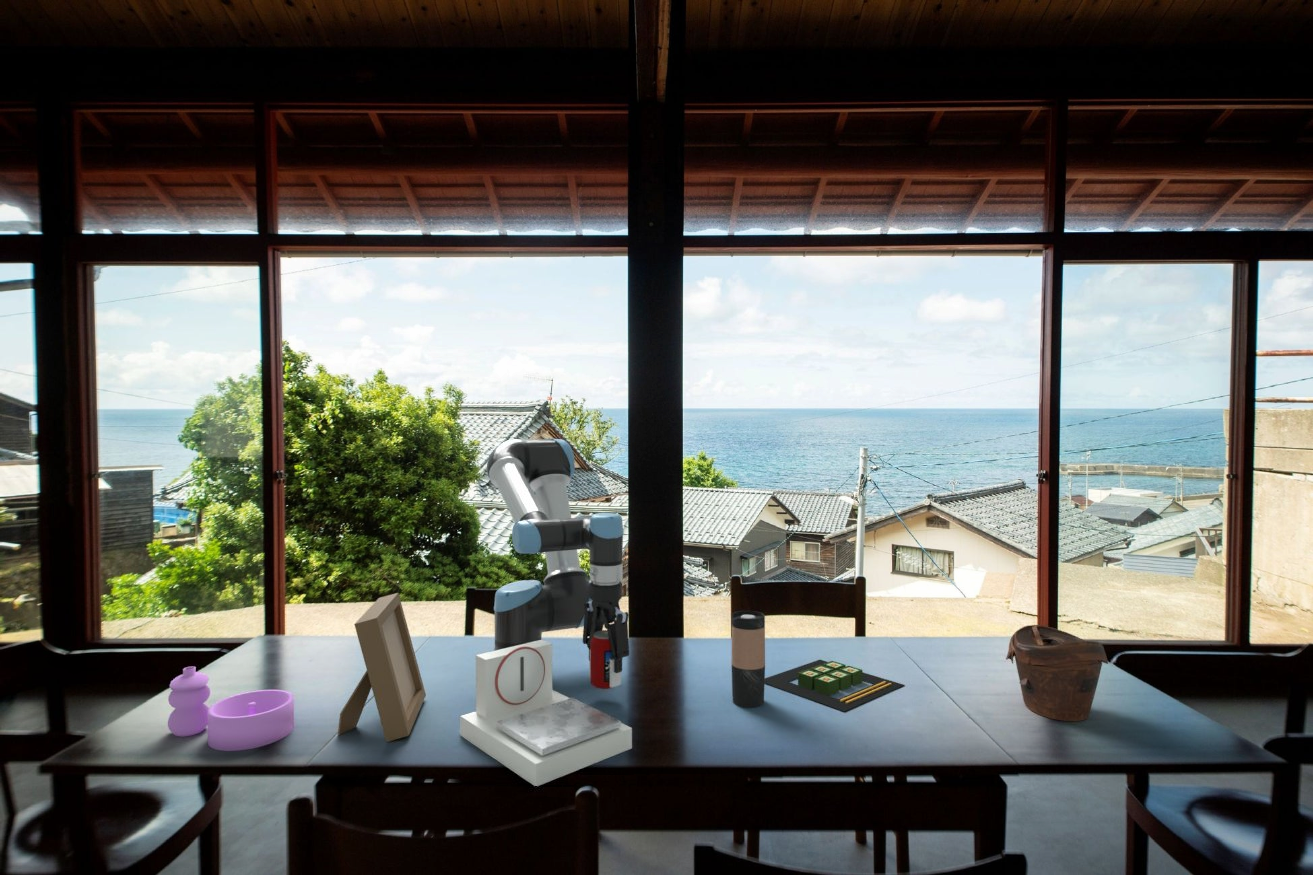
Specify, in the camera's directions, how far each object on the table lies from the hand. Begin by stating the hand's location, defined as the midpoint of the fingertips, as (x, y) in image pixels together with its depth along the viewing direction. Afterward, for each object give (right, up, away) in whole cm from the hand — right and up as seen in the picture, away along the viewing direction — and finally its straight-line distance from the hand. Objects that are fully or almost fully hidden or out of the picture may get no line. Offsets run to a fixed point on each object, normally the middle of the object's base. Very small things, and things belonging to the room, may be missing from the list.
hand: (605, 680), depth 162 cm
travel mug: (+33, -5, 0) cm, 33 cm away
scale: (-11, -5, -21) cm, 24 cm away
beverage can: (0, -1, 0) cm, 1 cm away
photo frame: (-47, -5, -11) cm, 48 cm away
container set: (-76, -5, -17) cm, 78 cm away
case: (+101, -5, -5) cm, 101 cm away
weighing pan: (-7, 0, -25) cm, 26 cm away
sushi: (+55, -5, +11) cm, 56 cm away
